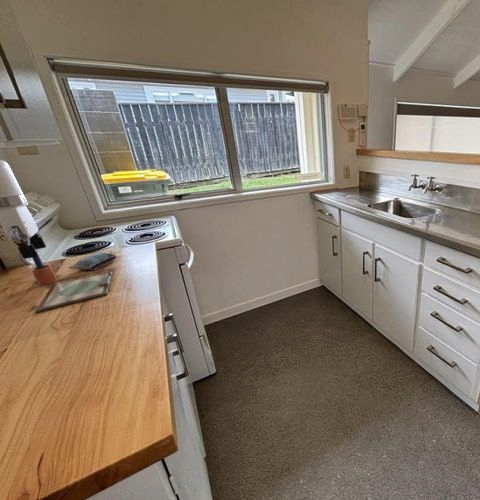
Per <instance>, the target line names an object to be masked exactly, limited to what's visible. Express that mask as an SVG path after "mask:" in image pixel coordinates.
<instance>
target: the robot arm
mask: <svg viewBox="0 0 480 500" xmlns="http://www.w3.org/2000/svg"><path fill="white" fill-rule="evenodd" d="M27 205H28V206H29V202H28V200H27V198H26V197H25V194H24V192H23V190H22V188H21V186H20V185H19V182H18V181H17V179H16V176H15V174H14V172H13V171H12V168H11V167H10V165H9V163H8V162H6V161H5V160H4V159H3V160H2V159H0V226H1V227H2V229H3V231H4V233H5V235H6V238H7V239H8V241H11V242H13V243H14V244H15V246H16V248H17V249H18V251H19V253H20V254H21V257H22V258H23V259H32V257H37V256H38V255H39V253H38V252H36V251H37V250H40V249H45V248H47V245H46V243H45V241H44V239H43V237H42V236H41V233H40V232H39V228H38V225H37V223H36V221H35V219H34V217H33V216H32V214H31V212H30V211H29V208H28V207H27ZM37 253H38V254H37Z"/></svg>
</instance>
